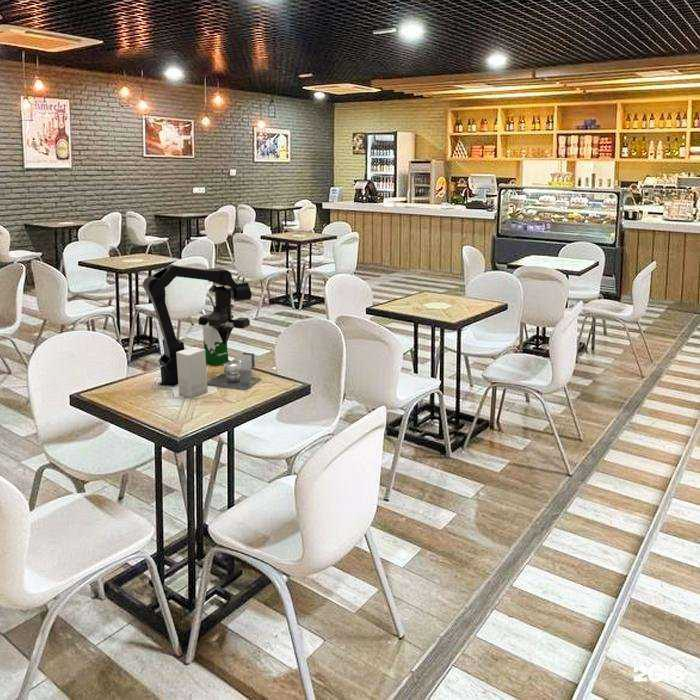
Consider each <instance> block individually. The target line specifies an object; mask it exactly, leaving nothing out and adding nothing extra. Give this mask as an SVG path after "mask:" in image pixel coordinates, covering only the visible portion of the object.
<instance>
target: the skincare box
mask: <svg viewBox="0 0 700 700" xmlns="http://www.w3.org/2000/svg"><path fill="white" fill-rule="evenodd" d="M184 349H185V350H182V351H178V352H176V356H177V371H178V385H177V386H178V395H180V396H183V397H187V398H191V399H192V398H194V397H196V396H199V395H202V394H204V393H207V392H208V386H207V382H208V377H207V376H208V373H207V364H206V355H205V349H204V348H201V347H196V346H192V347H188V348H184Z"/></svg>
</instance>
